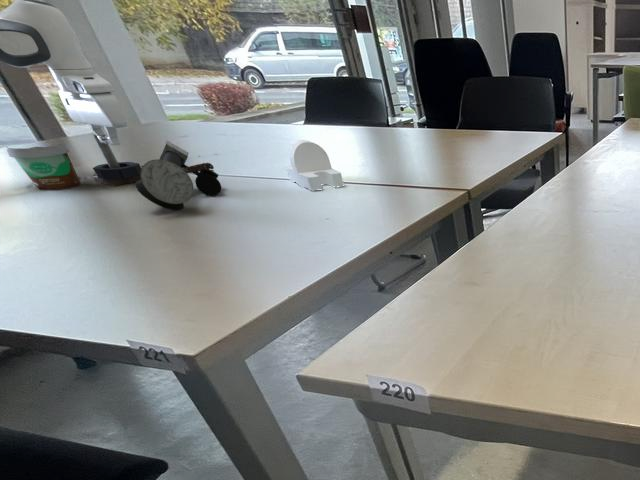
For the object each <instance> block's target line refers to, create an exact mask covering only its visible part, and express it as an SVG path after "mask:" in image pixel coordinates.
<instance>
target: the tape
mask: <svg viewBox="0 0 640 480" xmlns="http://www.w3.org/2000/svg"><path fill="white" fill-rule="evenodd" d="M118 163H119V165H120V167H121V168H110V167H109V165H108V163H102V164H97V165H96V166H94V167H92V170H93V172H94V173H95V176H97V177H98V178H101V179H105V180H113V179H127V178H132V177H138V176H140V173H141V169H142V167H141V164H140V163H139V162H133V161H118Z"/></svg>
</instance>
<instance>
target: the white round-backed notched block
mask: <svg viewBox="0 0 640 480" xmlns="http://www.w3.org/2000/svg"><path fill="white" fill-rule="evenodd" d="M288 156H289V157H288V158H289V163H290V164H291V165H286V166H285V169H286V172H287V175H288V178H289V181H290V180H291V181H290V182H292V181H293V182H292V183H294V182H296V183H298V184H300V185H302V186H304V187H306V188H308V189H310V190H317V189H323V186H322V185H321V184H330V185H332V186H335V187H337V186H343V185H344V186H345V183H344V180H343V177H342V176H343V175H342V172H341V171H339V170H336V169H334V168H333V167H332V165H331V161H330V158H329V155H328V153H327V152H326V151H325V149H324V148H323V147H322V146H320V145H319V144H318V143H315V142H312V141H311V140H307V139H302V140H297V141H295V142H294V143H293V144H292V145H291V147H290V149H289V152H288ZM296 183H295V184H296ZM298 184H297V185H298ZM300 185H299V186H300ZM302 186H301V187H302ZM332 186H331V187H332ZM304 187H303V188H304ZM306 188H305V189H306ZM308 189H307V190H308ZM310 190H309V191H310Z"/></svg>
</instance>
